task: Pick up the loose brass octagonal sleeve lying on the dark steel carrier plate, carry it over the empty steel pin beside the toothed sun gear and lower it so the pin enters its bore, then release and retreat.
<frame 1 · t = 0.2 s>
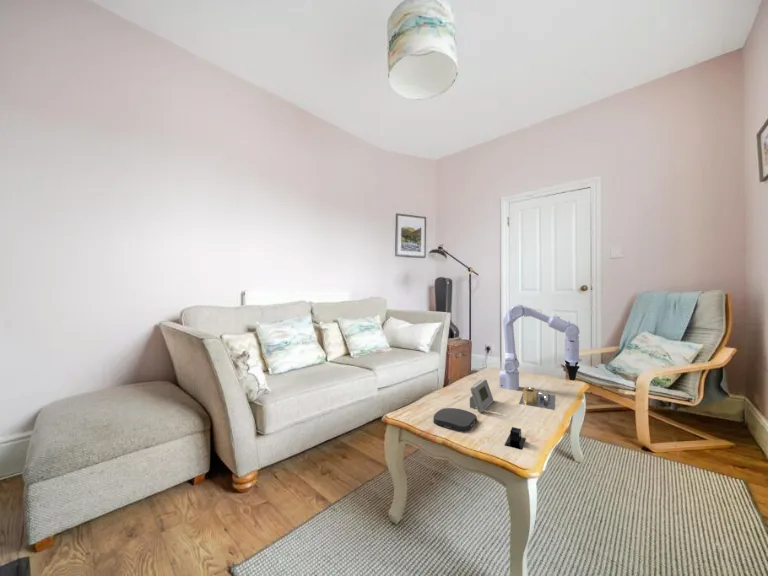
hand: (571, 377, 145), 10 cm above the table, fingers open, 7 cm apart
block on black plate: (515, 443, 105), on the table
media streaming box: (455, 422, 120), on the table
carrier: (537, 401, 142), on the table
digital clock: (482, 407, 136), on the table
brass octagonal sleeve: (529, 401, 140), point 1 cm above the table, touching carrier
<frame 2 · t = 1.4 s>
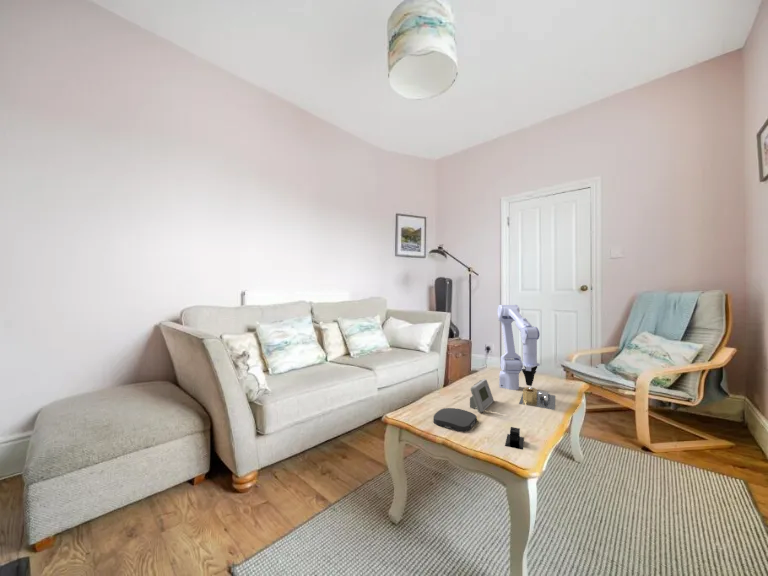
hand: (529, 383, 140), 9 cm above the table, fingers open, 7 cm apart
nothing on the table moved.
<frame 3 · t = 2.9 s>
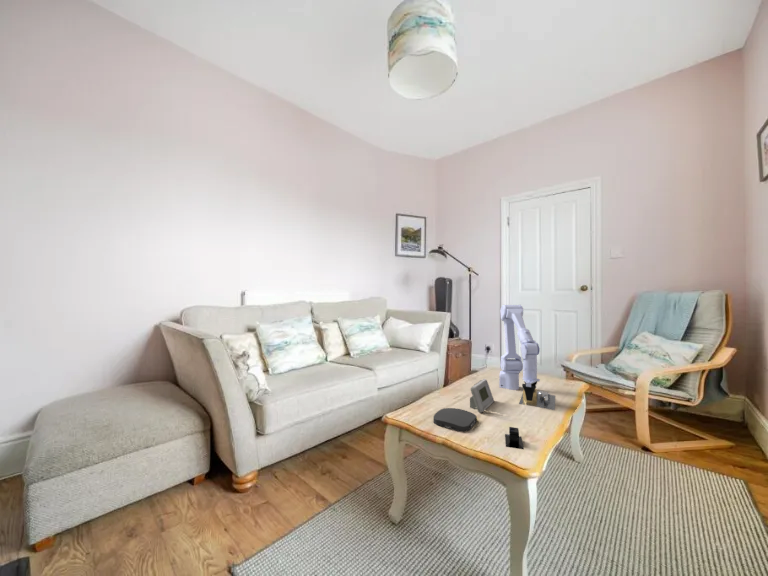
hand: (529, 398, 140), 2 cm above the table, fingers closed on brass octagonal sleeve, 6 cm apart
brass octagonal sleeve: (529, 401, 140), point 1 cm above the table, touching carrier, gripper
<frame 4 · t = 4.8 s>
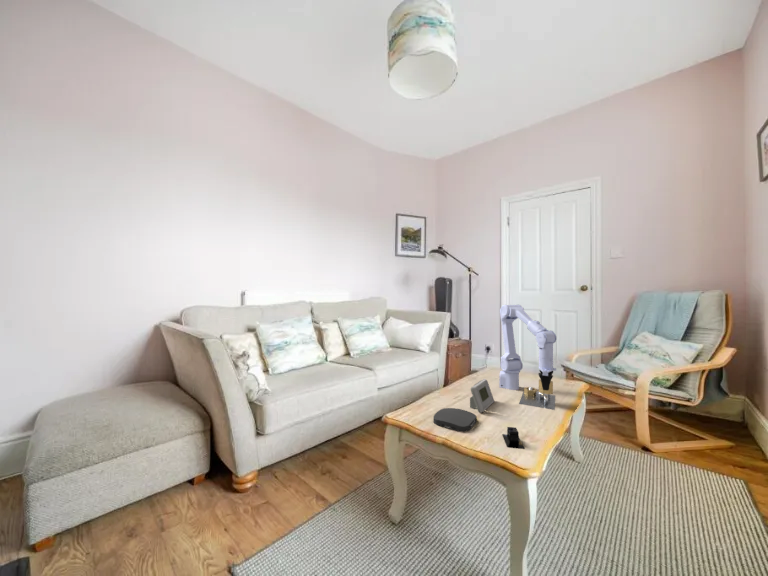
hand: (546, 388, 137), 8 cm above the table, fingers closed on brass octagonal sleeve, 6 cm apart
brass octagonal sleeve: (545, 392, 137), point 6 cm above the table, touching gripper
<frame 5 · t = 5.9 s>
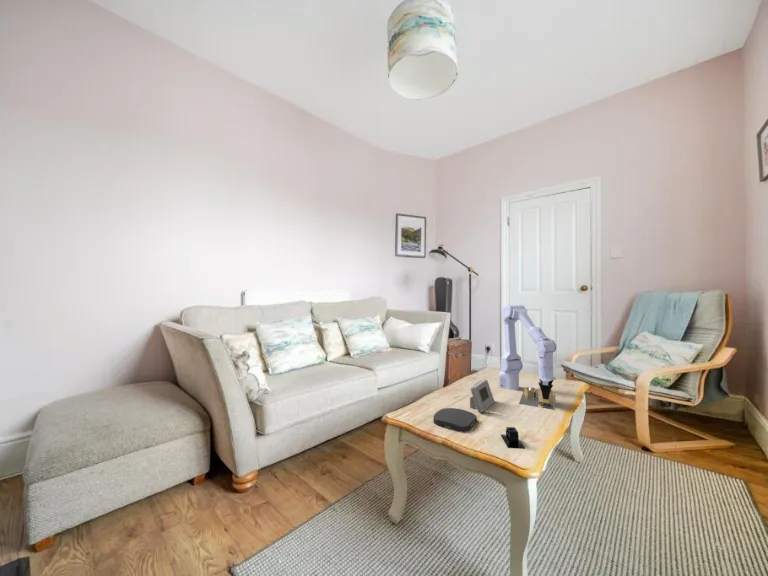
hand: (545, 396, 137), 4 cm above the table, fingers closed on brass octagonal sleeve, 6 cm apart
brass octagonal sleeve: (545, 401, 137), point 2 cm above the table, touching gripper
when the fingers open (4 cm above the table, at t = 6.6 s): brass octagonal sleeve moves 1 cm, resting on carrier.
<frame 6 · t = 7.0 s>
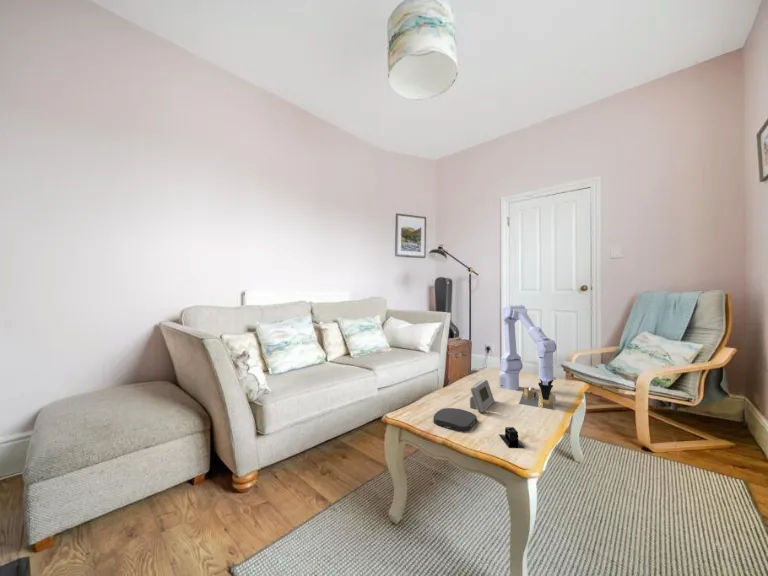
hand: (546, 396, 137), 4 cm above the table, fingers open, 7 cm apart
brass octagonal sleeve: (545, 403, 137), point 1 cm above the table, touching carrier
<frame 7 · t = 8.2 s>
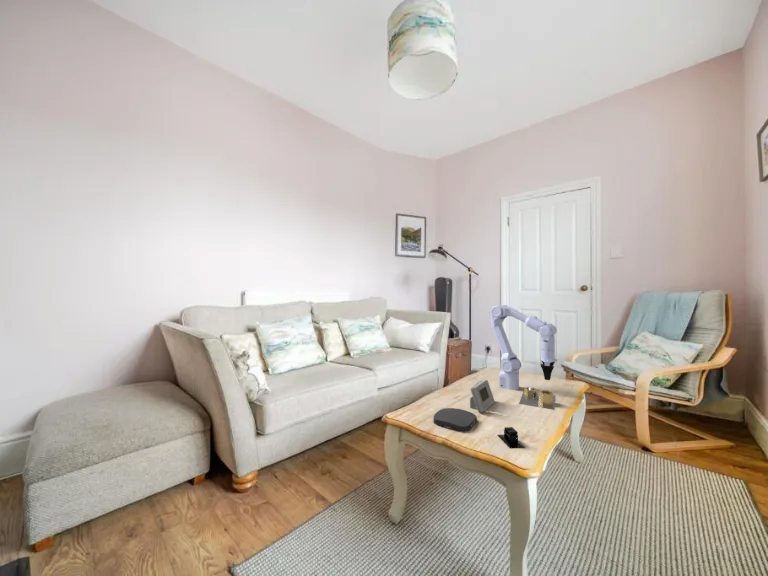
hand: (547, 377, 146), 10 cm above the table, fingers open, 7 cm apart
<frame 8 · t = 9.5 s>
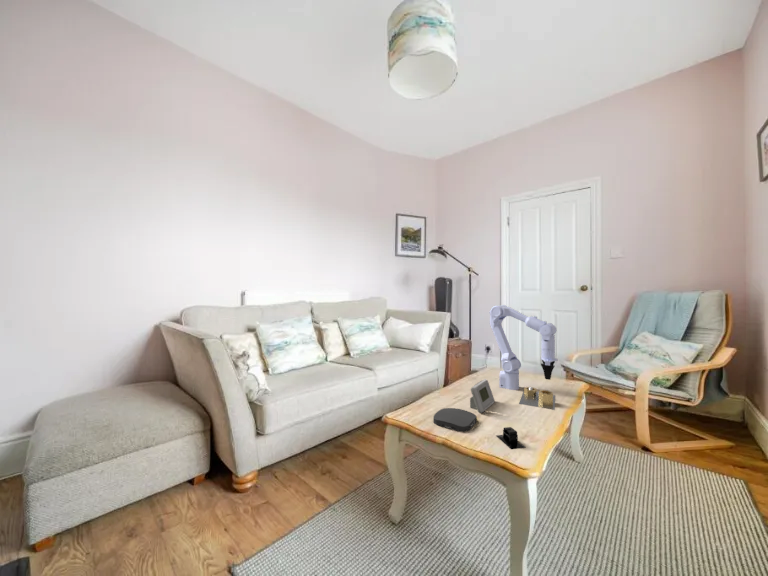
hand: (548, 377, 146), 10 cm above the table, fingers open, 7 cm apart
at the end: brass octagonal sleeve 0.1 cm from the target spot on the carrier, point 0.8 cm above the carrier's base; brass octagonal sleeve tilted 0°; the gripper is holding nothing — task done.
